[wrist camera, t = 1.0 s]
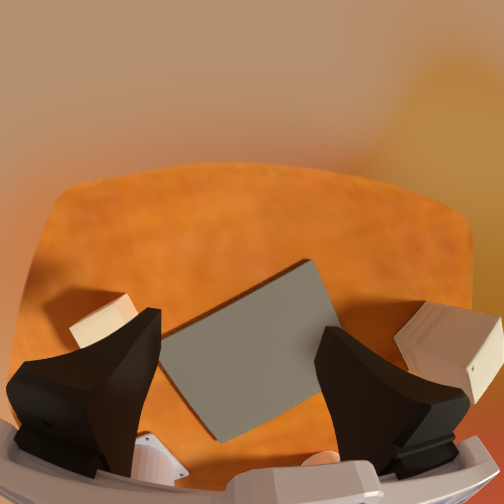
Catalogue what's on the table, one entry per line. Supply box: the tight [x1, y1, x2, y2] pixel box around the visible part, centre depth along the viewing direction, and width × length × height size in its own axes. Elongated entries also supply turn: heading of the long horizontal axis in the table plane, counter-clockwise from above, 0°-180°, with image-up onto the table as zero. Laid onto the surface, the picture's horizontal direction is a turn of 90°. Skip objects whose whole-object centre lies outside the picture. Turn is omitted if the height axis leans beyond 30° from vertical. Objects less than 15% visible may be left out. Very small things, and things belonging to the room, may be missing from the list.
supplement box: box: [393, 301, 504, 404], centre depth 27 cm, size 7×7×13 cm
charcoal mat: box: [159, 259, 342, 443], centre depth 28 cm, size 18×14×1 cm
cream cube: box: [69, 293, 138, 348], centre depth 23 cm, size 5×5×5 cm
